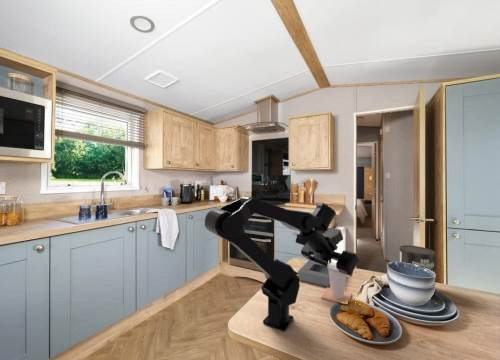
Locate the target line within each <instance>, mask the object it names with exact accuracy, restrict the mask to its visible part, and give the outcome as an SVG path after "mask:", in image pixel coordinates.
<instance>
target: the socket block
mask: <svg viewBox="0 0 500 360" xmlns="http://www.w3.org/2000/svg"><path fill="white" fill-rule="evenodd" d="M307 260H308V261H307V262H305V263H304V264H303V266H301V267H300V269H298V270H297V272H298V274H297V276H298V277H299V279H300V281H299V282H304V283H308V284H312V285H317V286H321V287H325V288H327V287H328V288H330V279H329V271H328V269H327V266H324V265H322V264H319V263H317V262H314V261H312V260H309V259H307Z"/></svg>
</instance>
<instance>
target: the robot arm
mask: <svg viewBox="0 0 500 360" xmlns="http://www.w3.org/2000/svg"><path fill="white" fill-rule="evenodd" d="M253 215H258V216H261V217H264V218H266V219H267V218H268V219H270V220H274V221H277V222H280V223H281V224H282V225H283V226H285V227H286V228H288V229H290V230H294V231H297V232H299V233H298V234H296V238H295V243H296V244H299V245H302V246H303V247H301V250H300V254H301V256H302V257H303V258H305V259H307V260H312V261H314V262H317V263H319V264H322V265H324V266H327V265H328V264H329V263H330V262H329V261H331V260H334V261H336V262H335V263H336V268H337V269H338V270H339V272H341V273H344V274H346V276H348V277H352V276H353V274H354V271H355V269H356V267H357V264H358V263H359V261H360V257H359V255H357V253H356V252H353V251H349V250H346V249H344V250H342V251H341V253H340V252H337V250H338V248H339V246H337V245H339V243H341V242H342V241H344V236H343V234H342V230H341V229H339V228H334V227H330V225H331V224H332V222H333V220H334V218H336V215H337V212H336V210H335V209H333V208H332V207H330V206H328V205H327V204H325V203H324V202H318V203H317V205H316V206H315V208H314V210H313V211H312V212H311V213H310V212H307V211H302V210H295V209H286V208H284V207H281V206H279V205H276V204H273V203H271V202H267V201H264V200H261V199H259V198H257V197H256V196H250V195H244V196H241V197H240V198H238V199H236V200H234V201H231V202H230V203H226V204H224V205H222V206H221V207H219V208H215V209H214V208H213V209H211V210H209V211H208V212H207V214H206V215H205V218H204V227H205V228H206V229H207V231H208V232H210V233H212V234H214V235H216V236H217V237H219V238H221V239H223V240H224V241H227V242H229V243H230V244H231V245H232V246H233V247H234V248H236V249H237V251H239V252H240V253H241V254H242V255H243V256H245V257H246V258H247V259H248V260H249V261H251V262H252V263H253V264H254V265H255V266H256V267H257V268H258V269H260V270H261V271H262V272H263V274H264V277H265V279H266V280H265V281H264V283H263V284H262V286H261V287H260V289H261V292H262V294H263V295H264V296H266V298H267V315H266V317H265V318H264V319H263V321H262V324H264V325H267V326H269V327H272V328H274V329H278V330H280V331H283V332H284V331H285V332H286V331H287V329H288V328H289V327H290V325H291V323H292V322H293V320H294V319H295V317H294V316H293V315H292V314H291V315H290V306H291V305H295V304H296V302H297V299H298V295H299V291H300V287H301V286H300V282H301V281H300V279H299V277H298V271H296V270H294V269H293V267H292V266H291V265H290V264H288V263H286V262H284V261H282V260H280V259H277V258H275V259H273V257H271V256H270V255H269V254H268V253H267V252H266V251H265V250H264V249H263V248H261V246H260V245H259V244H258V243H256V241H254V240H253V239H252V237H250V236H249V235H248V234H247V232H246V230H245V227H244V225H246V224H247V222H248V221H249V220H250V218H251V217H252V216H253Z"/></svg>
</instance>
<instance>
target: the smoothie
mask: <svg viewBox="0 0 500 360" xmlns="http://www.w3.org/2000/svg"><path fill="white" fill-rule="evenodd" d="M328 263H329V264H328V265H327V269H328V271H329V279H330V288H331V295H332V296H333V297H334V298H338V299H341V298H343V296H344V291H345V287H346V281H347V275H346V274H344V273H341V272H339V270H338V269H337V268H336V263H337V262H328Z"/></svg>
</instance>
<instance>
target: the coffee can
mask: <svg viewBox="0 0 500 360" xmlns="http://www.w3.org/2000/svg"><path fill="white" fill-rule="evenodd" d="M436 255H437V253H436V251H434V250H433V249H429V248H427V247H422V246H417V245H400V246H399V263H400V262H406V263H411V264H412V265H413V264H416V265H419V266H421V267H425V268H428V269H430V270H431V271H433V272H434V273H435V274H436Z"/></svg>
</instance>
